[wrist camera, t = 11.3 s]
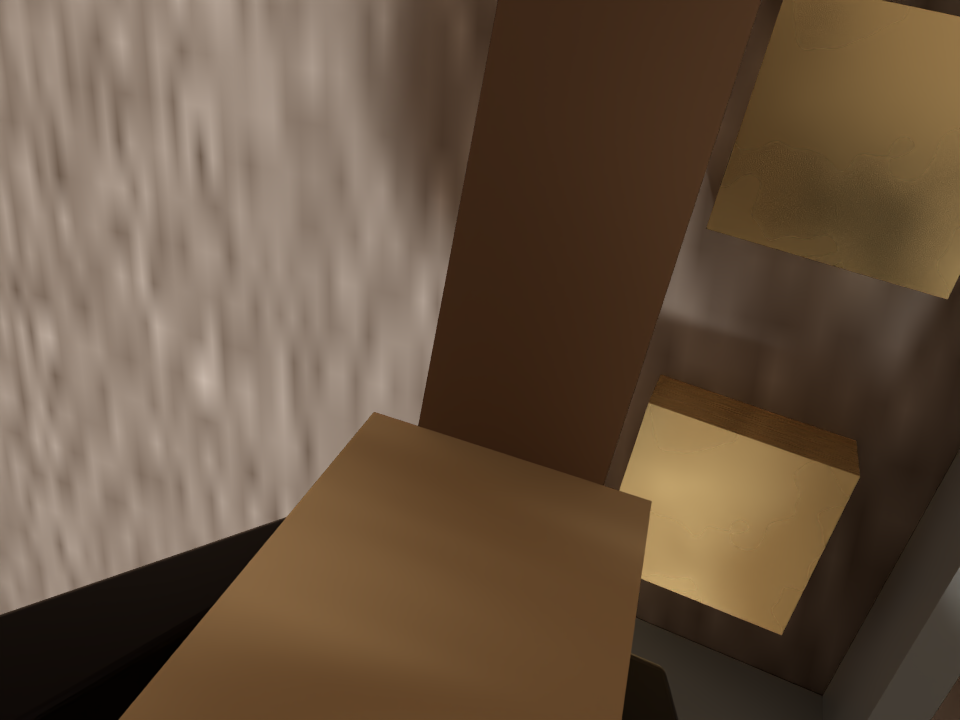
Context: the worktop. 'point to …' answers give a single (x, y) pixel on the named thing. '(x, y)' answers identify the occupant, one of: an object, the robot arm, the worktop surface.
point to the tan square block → (736, 500)
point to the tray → (871, 657)
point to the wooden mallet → (498, 410)
